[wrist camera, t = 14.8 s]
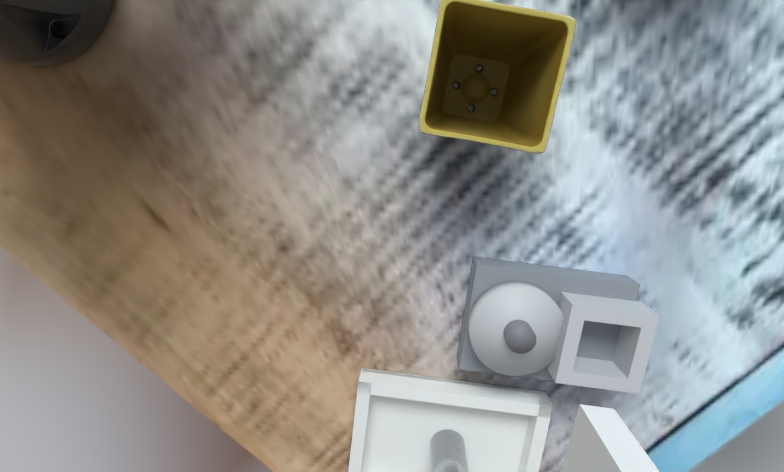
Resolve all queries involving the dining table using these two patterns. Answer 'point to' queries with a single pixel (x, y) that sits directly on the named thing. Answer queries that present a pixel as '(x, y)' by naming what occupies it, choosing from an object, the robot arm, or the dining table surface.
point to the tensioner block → (556, 325)
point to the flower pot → (495, 73)
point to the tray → (445, 423)
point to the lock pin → (448, 452)
